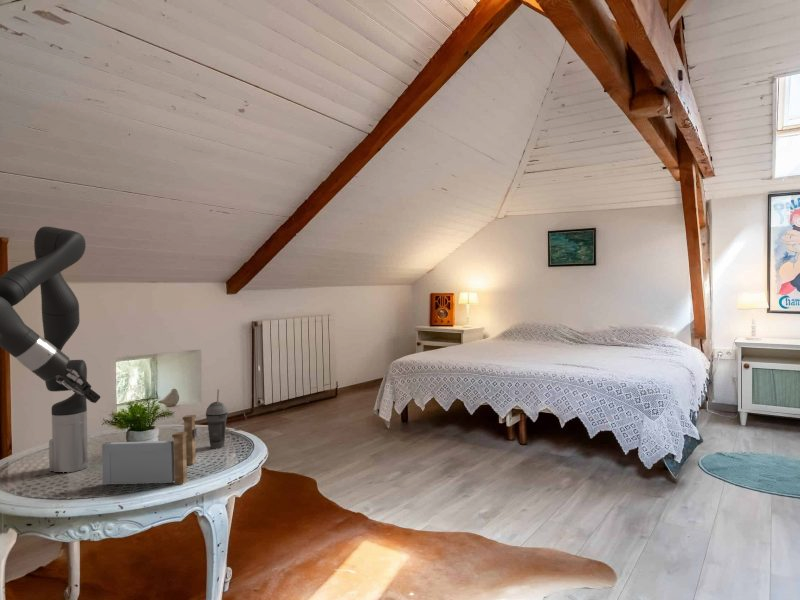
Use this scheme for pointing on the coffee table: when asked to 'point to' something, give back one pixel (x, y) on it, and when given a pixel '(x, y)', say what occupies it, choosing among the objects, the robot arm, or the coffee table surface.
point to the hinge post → (180, 457)
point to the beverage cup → (216, 423)
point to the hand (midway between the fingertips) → (96, 399)
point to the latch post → (190, 438)
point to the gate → (138, 462)
